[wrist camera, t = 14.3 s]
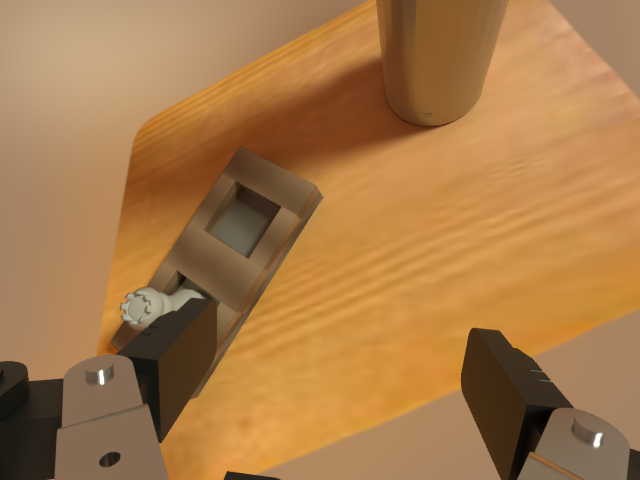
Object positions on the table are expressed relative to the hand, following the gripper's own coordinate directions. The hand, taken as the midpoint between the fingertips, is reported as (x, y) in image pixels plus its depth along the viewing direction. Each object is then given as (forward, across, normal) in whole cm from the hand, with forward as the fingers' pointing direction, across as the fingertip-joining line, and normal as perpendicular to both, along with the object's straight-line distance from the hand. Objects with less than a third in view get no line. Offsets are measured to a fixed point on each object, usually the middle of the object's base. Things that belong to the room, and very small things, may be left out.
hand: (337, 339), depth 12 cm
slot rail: (+23, +11, +7) cm, 27 cm away
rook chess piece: (+21, +13, +10) cm, 27 cm away
